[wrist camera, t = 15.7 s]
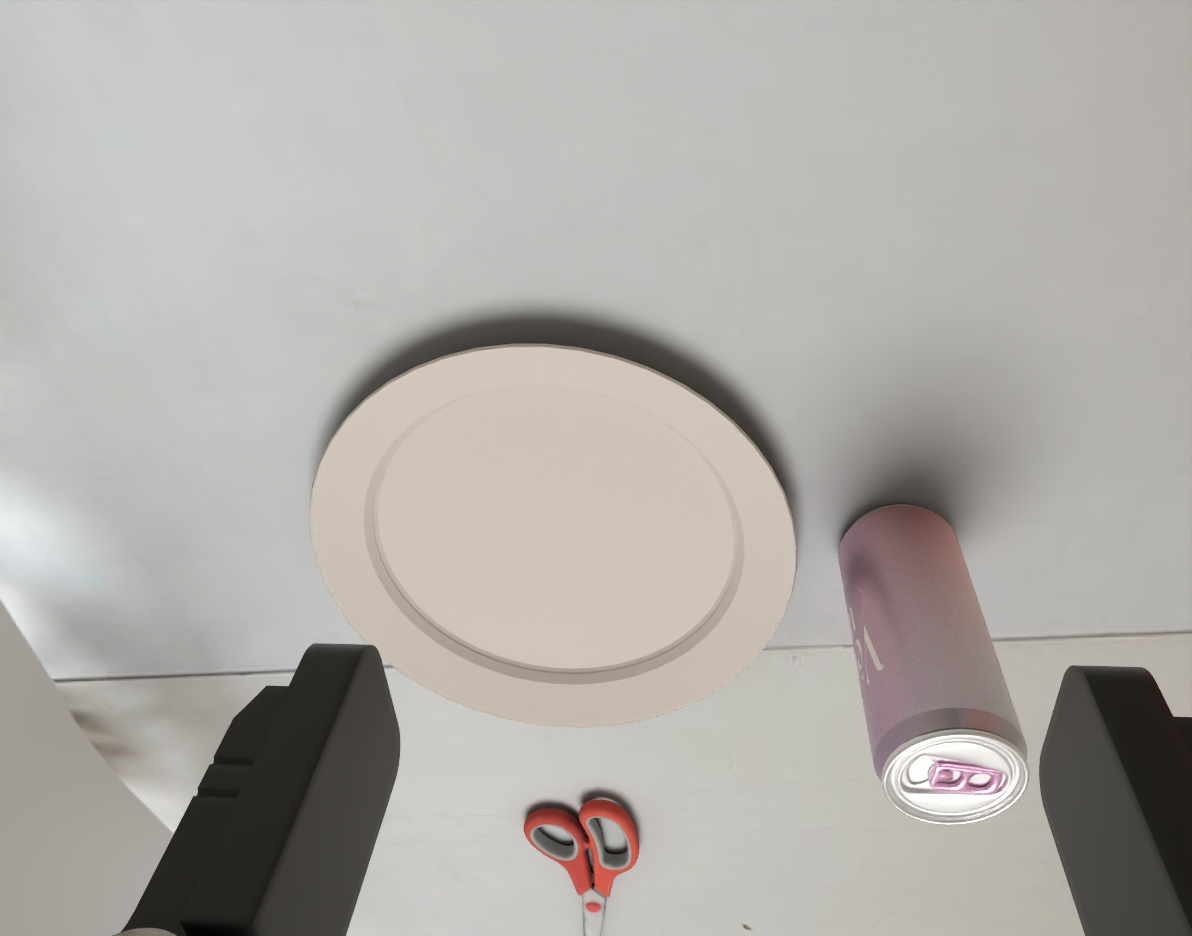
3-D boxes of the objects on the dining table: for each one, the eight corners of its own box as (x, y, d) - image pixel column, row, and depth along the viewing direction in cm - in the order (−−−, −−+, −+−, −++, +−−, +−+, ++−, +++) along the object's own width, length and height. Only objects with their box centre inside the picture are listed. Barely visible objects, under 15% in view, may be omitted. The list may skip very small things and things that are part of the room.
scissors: (583, 966, 77) (582, 984, 76) (515, 797, 66) (512, 816, 65) (680, 963, 76) (679, 982, 75) (627, 790, 65) (625, 809, 63)
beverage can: (938, 593, 53) (1008, 836, 40) (826, 580, 53) (862, 819, 41) (969, 504, 49) (1056, 741, 37) (850, 491, 50) (897, 722, 37)
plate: (513, 752, 63) (508, 777, 62) (223, 475, 53) (208, 496, 51) (879, 603, 53) (885, 629, 52) (613, 224, 43) (609, 241, 41)
